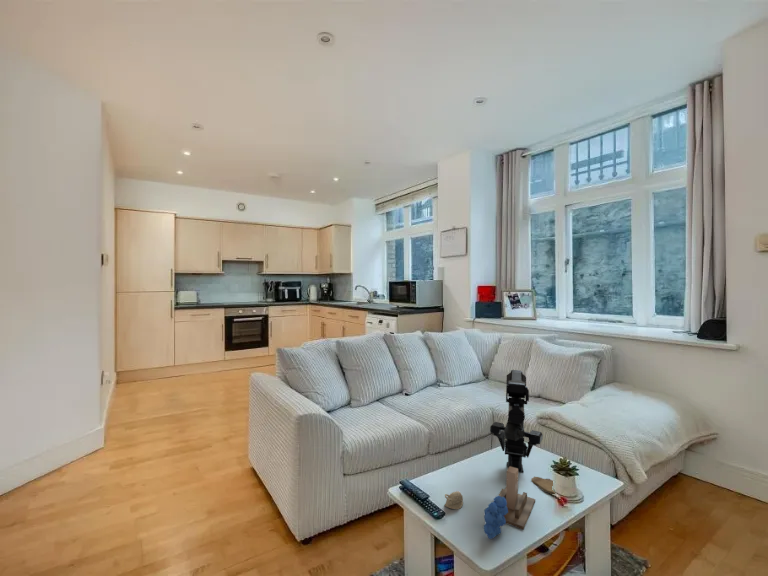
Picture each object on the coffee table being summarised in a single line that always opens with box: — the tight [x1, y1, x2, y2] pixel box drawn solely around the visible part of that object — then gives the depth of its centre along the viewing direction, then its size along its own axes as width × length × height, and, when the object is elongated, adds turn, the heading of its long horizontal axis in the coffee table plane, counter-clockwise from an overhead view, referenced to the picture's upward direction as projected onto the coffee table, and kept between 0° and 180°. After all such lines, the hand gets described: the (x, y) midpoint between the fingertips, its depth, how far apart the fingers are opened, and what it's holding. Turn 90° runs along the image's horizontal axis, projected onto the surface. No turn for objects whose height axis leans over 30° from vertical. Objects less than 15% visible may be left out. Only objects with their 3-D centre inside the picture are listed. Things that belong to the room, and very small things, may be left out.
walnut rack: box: [497, 487, 536, 530], centre depth 130 cm, size 18×12×4 cm, turn 146°
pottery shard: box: [530, 476, 555, 495], centre depth 143 cm, size 8×3×15 cm
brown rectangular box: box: [505, 466, 519, 510], centre depth 130 cm, size 3×4×13 cm
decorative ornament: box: [443, 490, 464, 510], centre depth 131 cm, size 4×8×5 cm, turn 114°
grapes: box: [483, 495, 508, 540], centre depth 117 cm, size 12×7×12 cm, turn 131°
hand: (515, 453), depth 143 cm, fingers open, 9 cm apart
